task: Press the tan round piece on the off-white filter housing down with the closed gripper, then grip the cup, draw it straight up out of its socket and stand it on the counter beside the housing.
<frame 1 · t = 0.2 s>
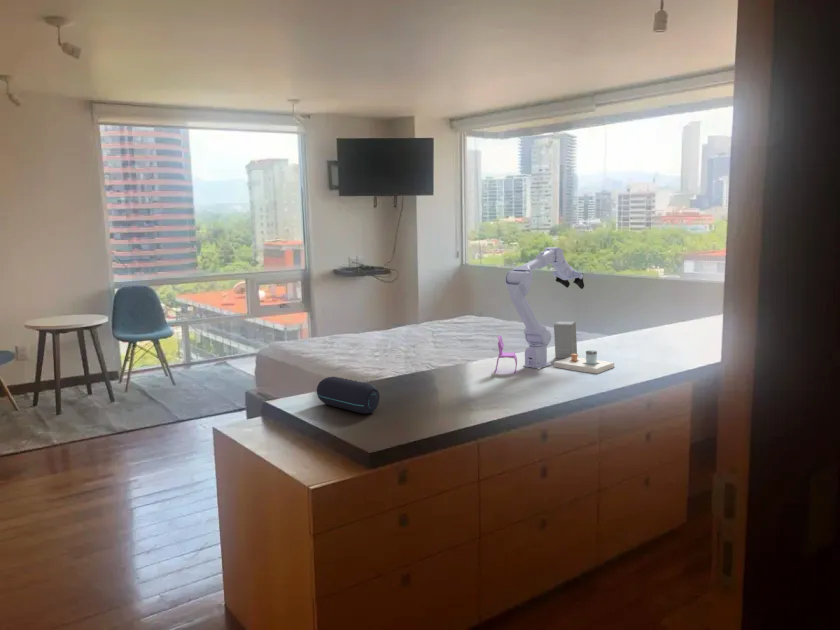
hand: (575, 286, 291), 31 cm above the dresser top, tool tilted 45°, fingers open, 7 cm apart
skincare box: (565, 357, 292), on the dresser top
cup: (591, 368, 269), resting in housing
tan round piece: (574, 358, 274), point 3 cm above the dresser top, slide at 0.0 cm
toy chair: (506, 372, 268), on the dresser top
portable speaker: (349, 409, 222), on the dresser top
housing: (583, 367, 272), on the dresser top
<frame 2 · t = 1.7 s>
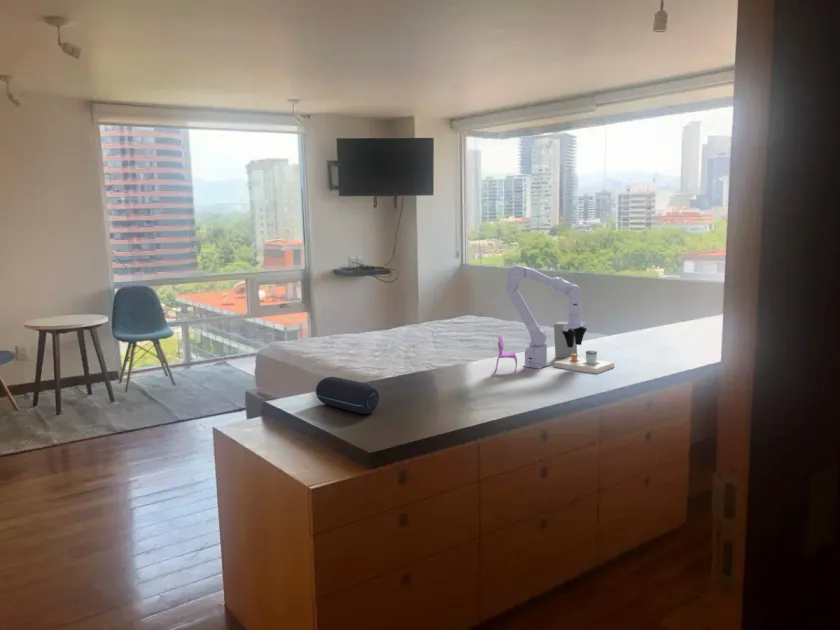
hand: (574, 345, 274), 8 cm above the dresser top, tool pointing down, fingers open, 6 cm apart
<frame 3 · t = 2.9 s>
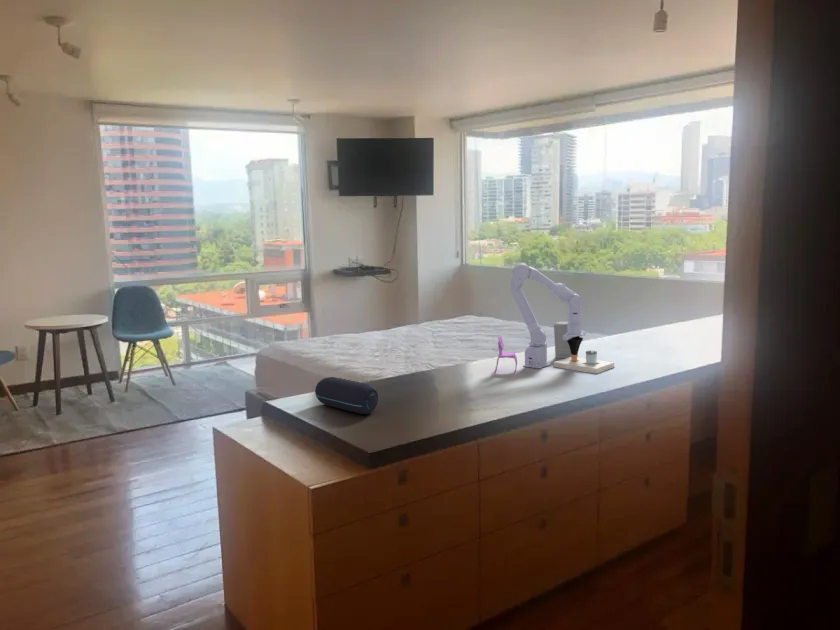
hand: (574, 354, 274), 5 cm above the dresser top, tool pointing down, fingers closed, pressing on tan round piece
tan round piece: (574, 358, 274), point 3 cm above the dresser top, slide at 0.1 cm, touching gripper
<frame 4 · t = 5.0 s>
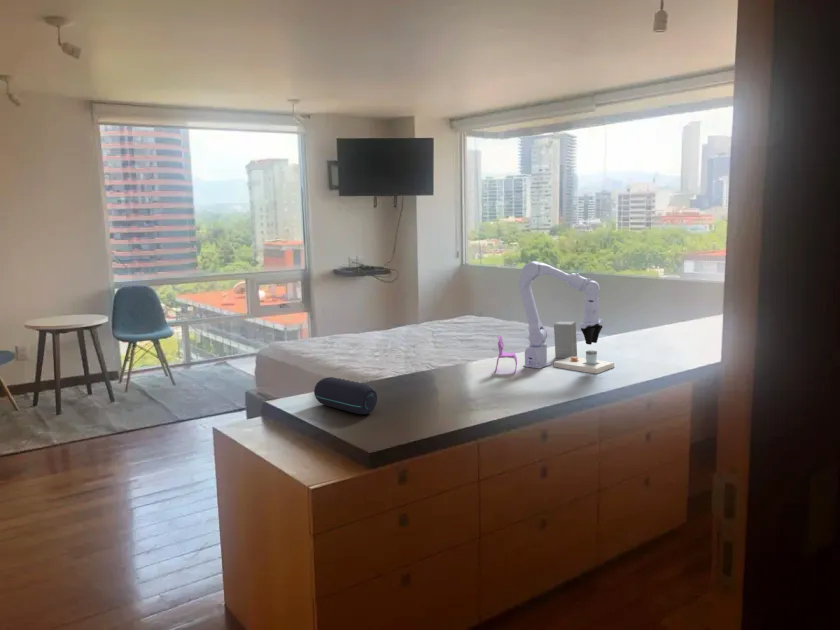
hand: (591, 343, 268), 10 cm above the dresser top, tool pointing down, fingers open, 4 cm apart
tan round piece: (574, 361, 275), point 2 cm above the dresser top, slide at 1.4 cm
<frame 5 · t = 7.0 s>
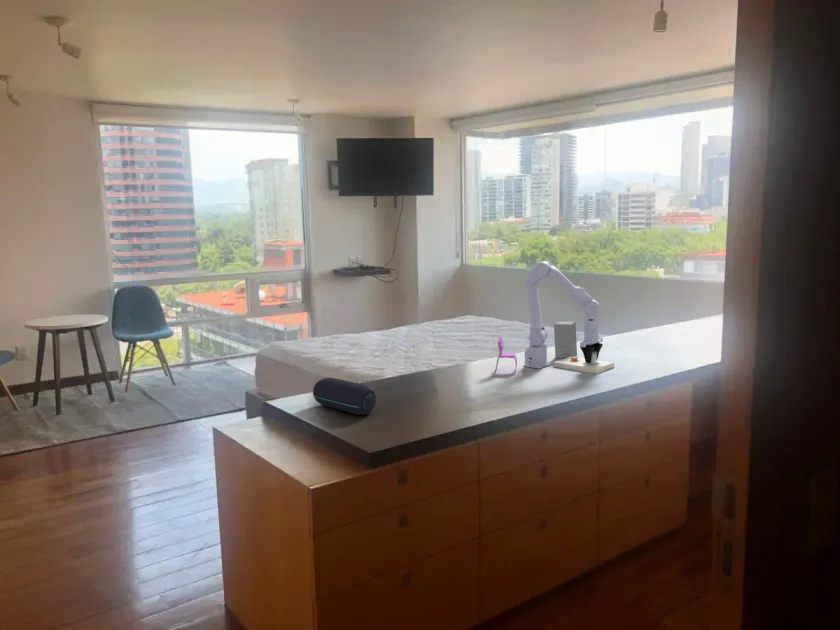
hand: (591, 361, 269), 3 cm above the dresser top, tool pointing down, fingers closed on cup, 4 cm apart
cup: (591, 368, 269), resting in housing, touching gripper
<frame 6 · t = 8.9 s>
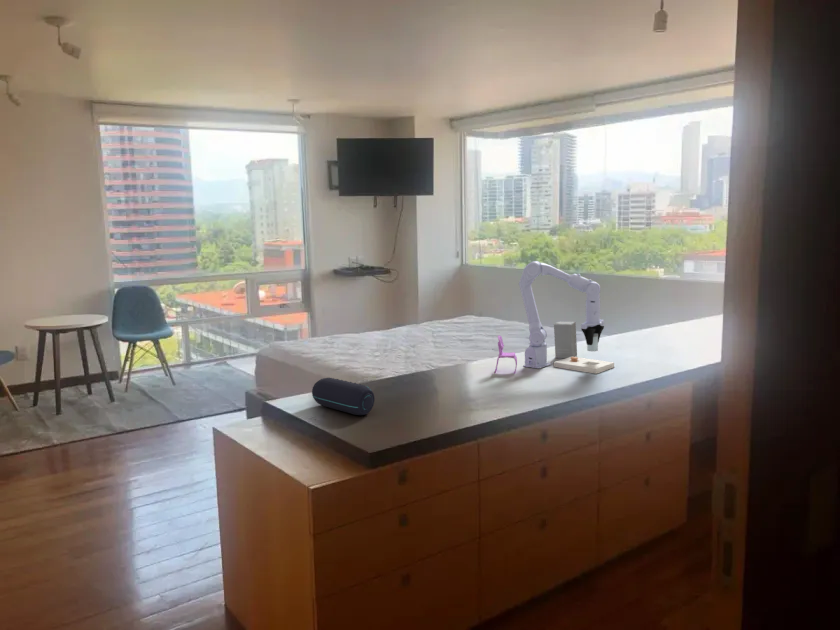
hand: (592, 343, 269), 10 cm above the dresser top, tool pointing down, fingers closed on cup, 4 cm apart
cup: (592, 350, 269), point 7 cm above the dresser top, touching gripper
when the fingers open (4 cm above the dresser top, at t = 11.1 s): cup stays where it is, on the dresser top.
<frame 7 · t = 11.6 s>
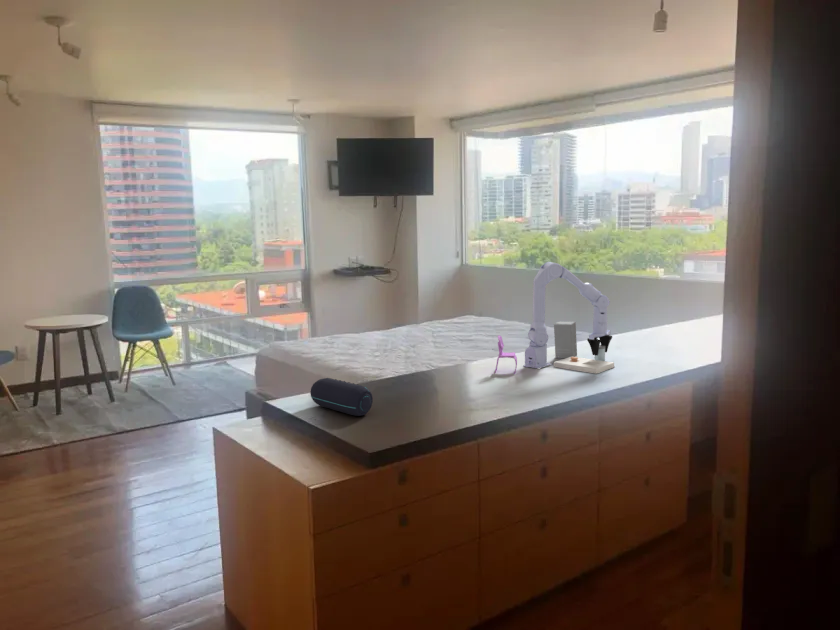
hand: (599, 353, 279), 4 cm above the dresser top, tool pointing down, fingers open, 7 cm apart
cup: (599, 362, 280), on the dresser top
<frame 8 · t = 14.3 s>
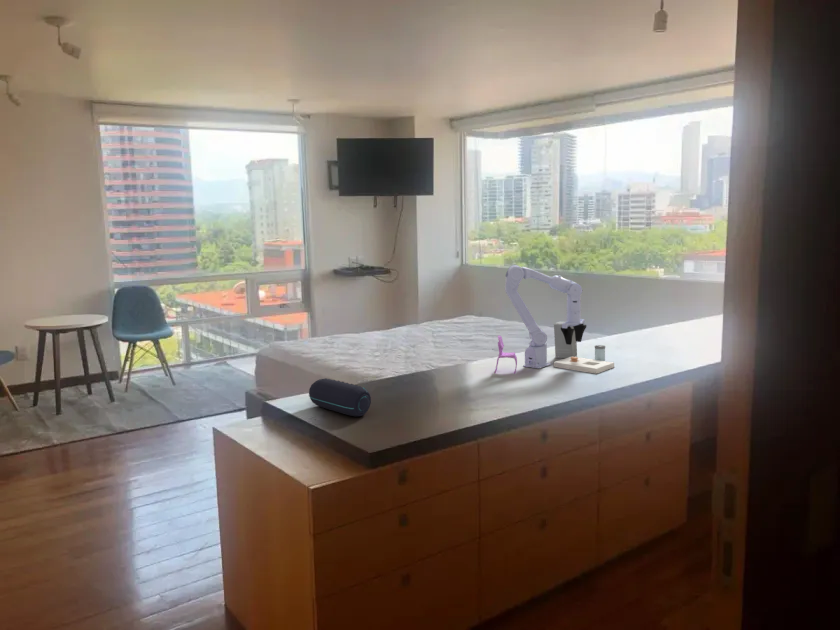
hand: (573, 342, 275), 9 cm above the dresser top, tool pointing down, fingers open, 7 cm apart
at the end: tan round piece slide at 1.4 cm; cup inside the target area (0.1 cm from its centre), on the dresser top; cup tilted 0° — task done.
